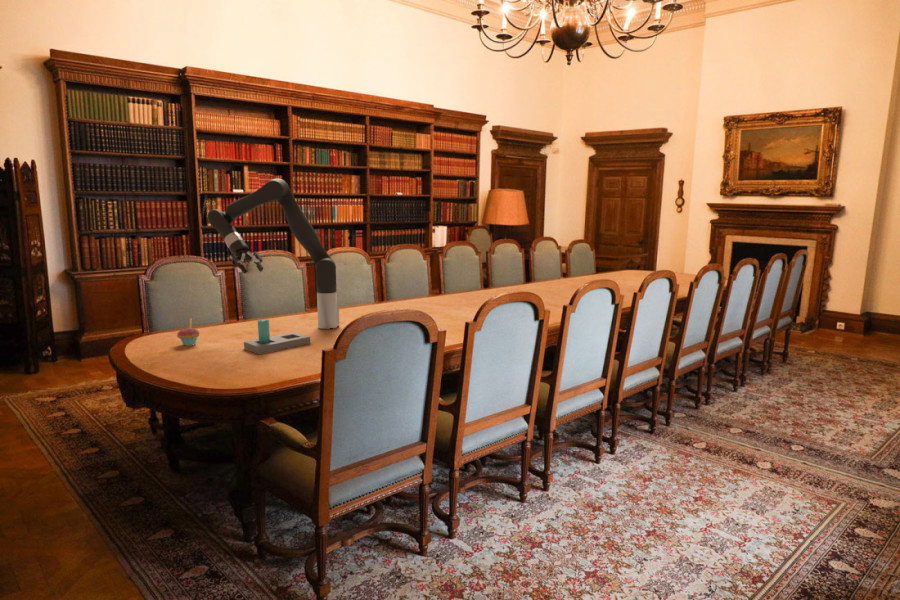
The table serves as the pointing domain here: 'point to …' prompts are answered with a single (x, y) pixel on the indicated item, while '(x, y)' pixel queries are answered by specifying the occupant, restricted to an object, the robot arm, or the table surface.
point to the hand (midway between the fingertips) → (254, 271)
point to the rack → (277, 343)
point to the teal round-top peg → (263, 331)
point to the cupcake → (188, 335)
